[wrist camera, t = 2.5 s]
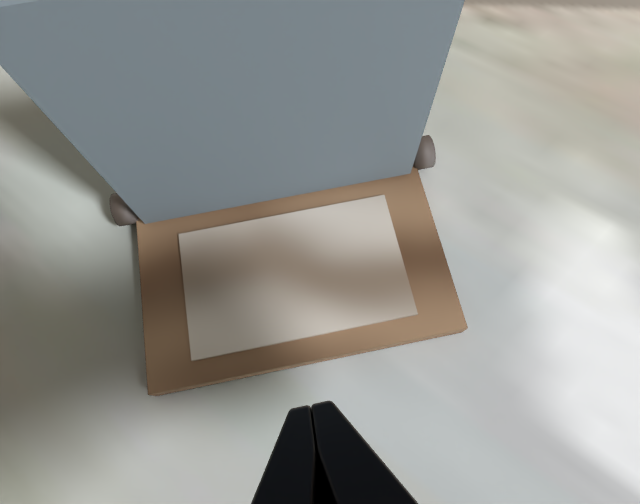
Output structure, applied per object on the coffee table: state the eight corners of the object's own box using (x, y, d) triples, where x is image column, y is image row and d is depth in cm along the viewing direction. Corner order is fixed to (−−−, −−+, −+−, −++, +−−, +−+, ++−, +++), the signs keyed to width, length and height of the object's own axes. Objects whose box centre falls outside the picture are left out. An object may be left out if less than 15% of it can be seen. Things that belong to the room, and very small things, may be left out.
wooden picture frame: (480, 328, 21) (493, 319, 20) (135, 400, 21) (118, 397, 19) (421, 149, 25) (428, 128, 23) (124, 204, 24) (109, 188, 22)
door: (410, 173, 23) (487, -73, 12) (144, 224, 22) (-46, 14, 11) (398, 136, 24) (460, -129, 12) (141, 184, 23) (-40, -51, 12)
